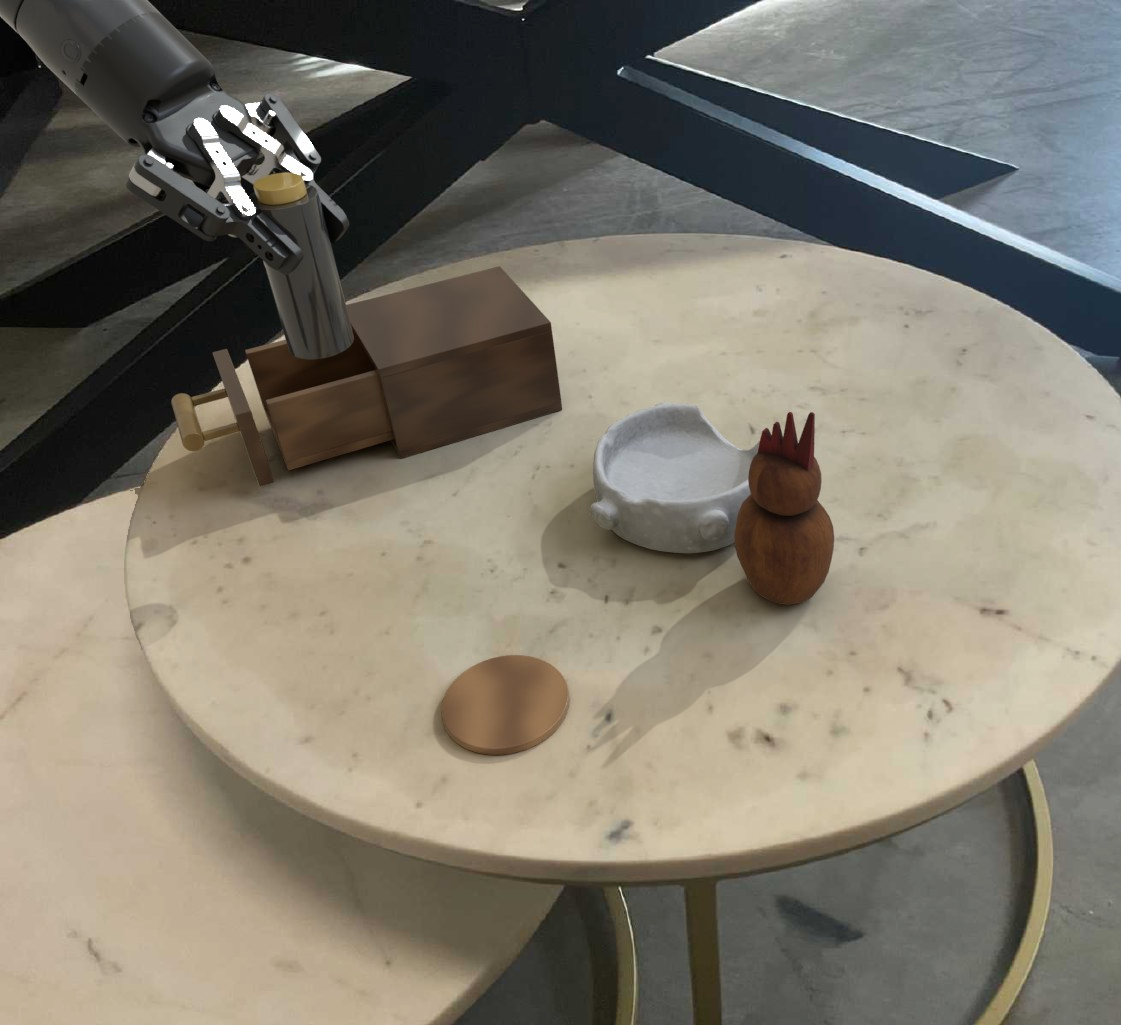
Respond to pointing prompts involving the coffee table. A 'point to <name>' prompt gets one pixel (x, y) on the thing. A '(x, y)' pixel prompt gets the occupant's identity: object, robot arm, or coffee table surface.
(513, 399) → the cabinet
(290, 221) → the cylinder
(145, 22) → the robot arm
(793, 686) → the coffee table surface
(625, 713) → the coffee table surface
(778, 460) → the wooden figurine
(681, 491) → the dish
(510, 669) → the coaster
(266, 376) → the drawer
